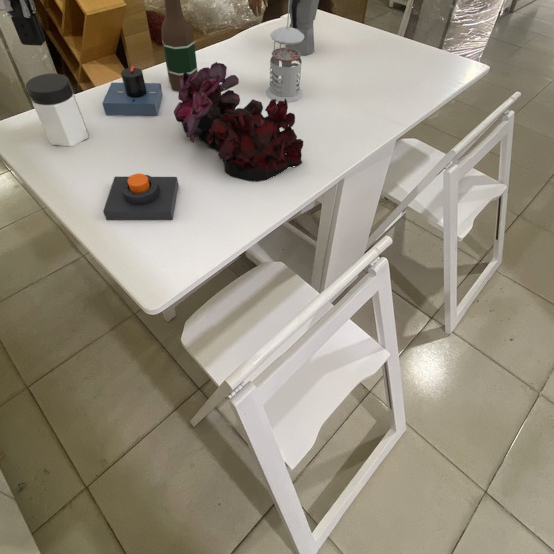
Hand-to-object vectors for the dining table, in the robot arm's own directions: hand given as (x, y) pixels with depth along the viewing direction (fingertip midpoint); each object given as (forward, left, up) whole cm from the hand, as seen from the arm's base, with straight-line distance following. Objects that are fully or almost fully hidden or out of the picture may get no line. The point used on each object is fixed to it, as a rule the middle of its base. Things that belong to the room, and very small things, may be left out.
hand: (34, 42), depth 63 cm
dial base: (+5, +26, -24) cm, 36 cm away
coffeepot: (+48, +59, -25) cm, 80 cm away
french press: (+42, +34, -25) cm, 60 cm away
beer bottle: (+16, +36, -25) cm, 47 cm away
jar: (-7, +12, -25) cm, 28 cm away
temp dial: (+6, +26, -21) cm, 34 cm away
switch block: (+13, -10, -24) cm, 29 cm away
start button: (+13, -10, -21) cm, 26 cm away
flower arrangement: (+30, +9, -24) cm, 40 cm away
